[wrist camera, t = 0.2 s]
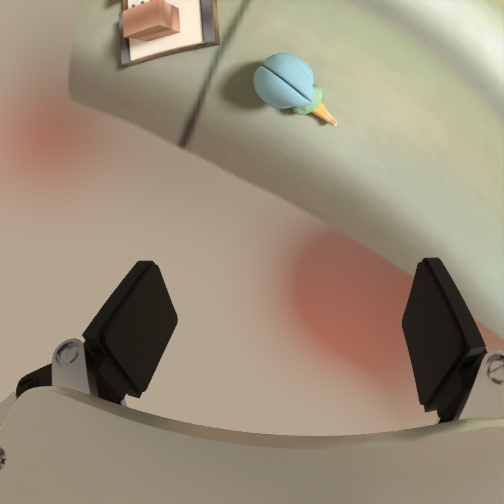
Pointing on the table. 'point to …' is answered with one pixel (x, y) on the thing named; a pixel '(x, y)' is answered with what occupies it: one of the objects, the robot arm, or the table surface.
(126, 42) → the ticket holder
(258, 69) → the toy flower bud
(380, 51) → the table surface
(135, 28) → the block on cream tray
